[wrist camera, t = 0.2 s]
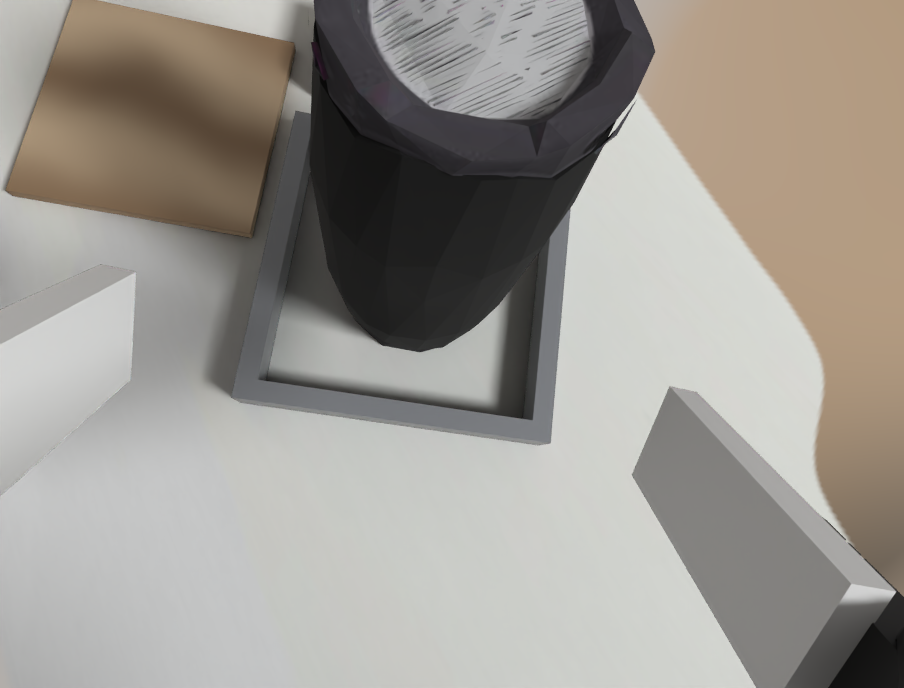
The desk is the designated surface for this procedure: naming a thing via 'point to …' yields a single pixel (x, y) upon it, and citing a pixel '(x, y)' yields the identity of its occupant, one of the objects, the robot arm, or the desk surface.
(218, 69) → the cork mat
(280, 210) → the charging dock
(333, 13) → the portable speaker
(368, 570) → the desk surface
